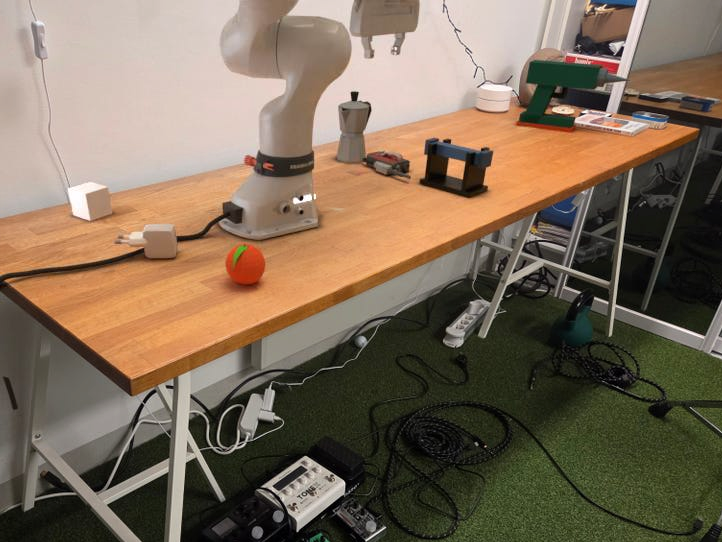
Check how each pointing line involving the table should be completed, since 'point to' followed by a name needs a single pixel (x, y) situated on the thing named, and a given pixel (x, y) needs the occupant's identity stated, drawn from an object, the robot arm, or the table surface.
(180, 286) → the table surface
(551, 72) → the power tool
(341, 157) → the coffee maker
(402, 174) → the walkie-talkie
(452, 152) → the handle
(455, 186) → the holder
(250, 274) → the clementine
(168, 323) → the table surface
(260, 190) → the robot arm
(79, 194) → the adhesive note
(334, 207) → the table surface
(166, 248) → the power adapter
